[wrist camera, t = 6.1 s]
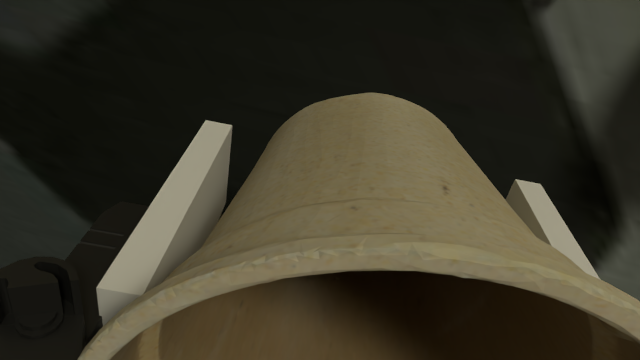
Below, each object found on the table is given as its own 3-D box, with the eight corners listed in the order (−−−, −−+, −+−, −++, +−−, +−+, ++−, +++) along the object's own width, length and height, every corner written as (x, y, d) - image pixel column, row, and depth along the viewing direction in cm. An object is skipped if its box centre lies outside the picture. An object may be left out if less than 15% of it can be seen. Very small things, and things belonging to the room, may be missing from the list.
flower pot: (581, 59, 12) (948, 330, 5) (468, 313, 17) (556, 639, 10) (214, 0, 12) (-22, 185, 4) (208, 275, 17) (94, 577, 9)
